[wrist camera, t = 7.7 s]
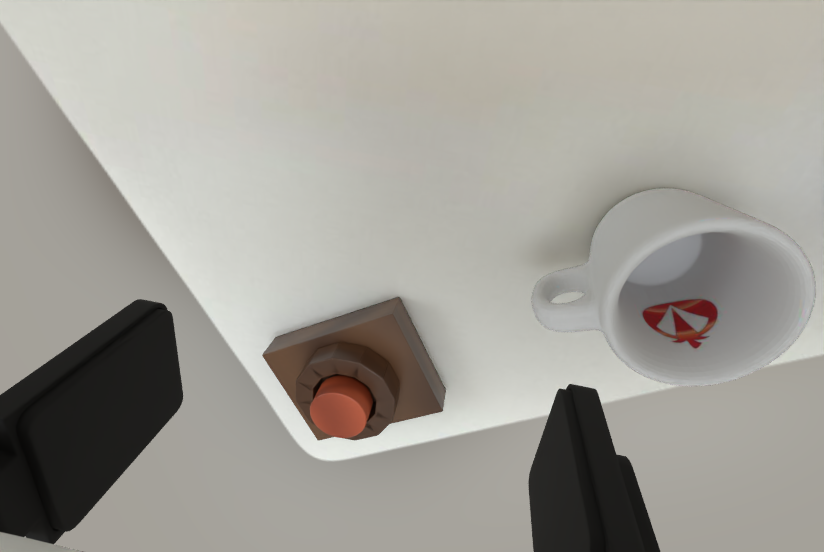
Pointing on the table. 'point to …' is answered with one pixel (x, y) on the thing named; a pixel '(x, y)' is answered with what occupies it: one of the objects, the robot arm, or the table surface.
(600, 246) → the cup
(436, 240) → the table surface
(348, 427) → the button
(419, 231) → the table surface
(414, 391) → the button block
